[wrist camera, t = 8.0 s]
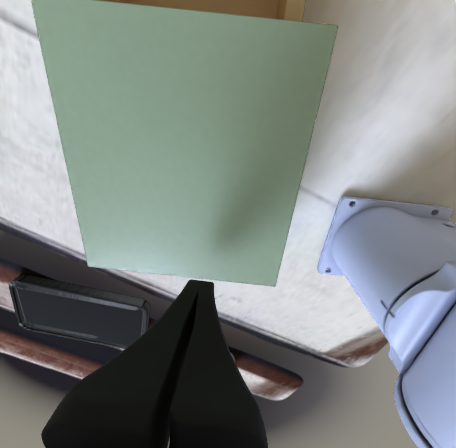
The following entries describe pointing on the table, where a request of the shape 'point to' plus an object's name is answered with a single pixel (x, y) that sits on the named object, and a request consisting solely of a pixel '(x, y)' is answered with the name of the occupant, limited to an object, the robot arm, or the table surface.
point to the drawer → (234, 7)
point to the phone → (78, 311)
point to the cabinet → (183, 132)
